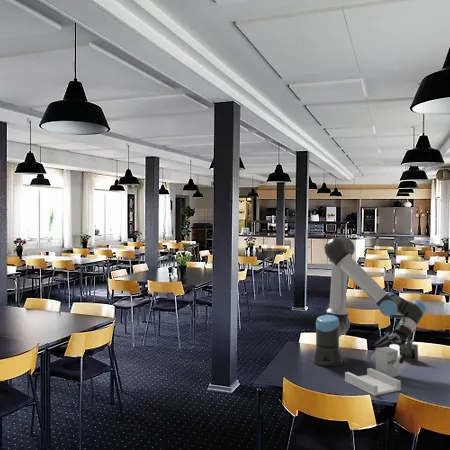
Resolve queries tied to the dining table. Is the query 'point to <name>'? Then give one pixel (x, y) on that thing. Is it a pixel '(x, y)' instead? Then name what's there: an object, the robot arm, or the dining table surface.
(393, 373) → the supplement box
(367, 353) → the dining table surface
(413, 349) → the electrical switch
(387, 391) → the tray
